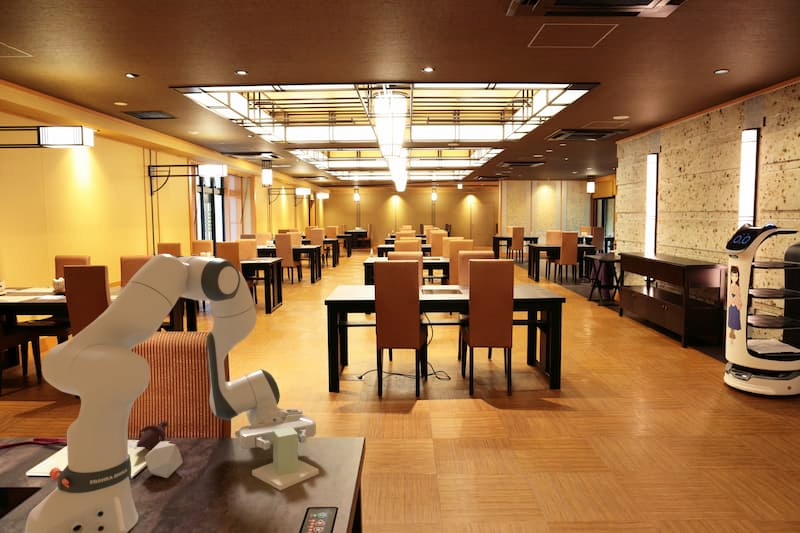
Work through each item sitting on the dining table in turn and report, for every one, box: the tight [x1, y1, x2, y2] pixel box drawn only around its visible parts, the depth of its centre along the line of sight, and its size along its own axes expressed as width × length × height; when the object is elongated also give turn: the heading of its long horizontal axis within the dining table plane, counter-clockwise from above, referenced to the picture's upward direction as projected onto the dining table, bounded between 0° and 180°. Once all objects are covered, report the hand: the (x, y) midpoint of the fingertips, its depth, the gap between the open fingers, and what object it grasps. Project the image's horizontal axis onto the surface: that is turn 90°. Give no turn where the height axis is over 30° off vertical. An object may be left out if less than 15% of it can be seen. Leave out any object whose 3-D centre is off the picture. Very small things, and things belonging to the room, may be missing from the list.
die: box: [144, 441, 184, 479], centre depth 139 cm, size 8×9×10 cm
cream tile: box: [251, 459, 320, 491], centre depth 140 cm, size 12×12×1 cm
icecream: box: [136, 420, 168, 450], centre depth 155 cm, size 7×8×15 cm
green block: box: [272, 427, 299, 476], centre depth 139 cm, size 5×5×10 cm
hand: (285, 443), depth 139 cm, fingers open, 8 cm apart
